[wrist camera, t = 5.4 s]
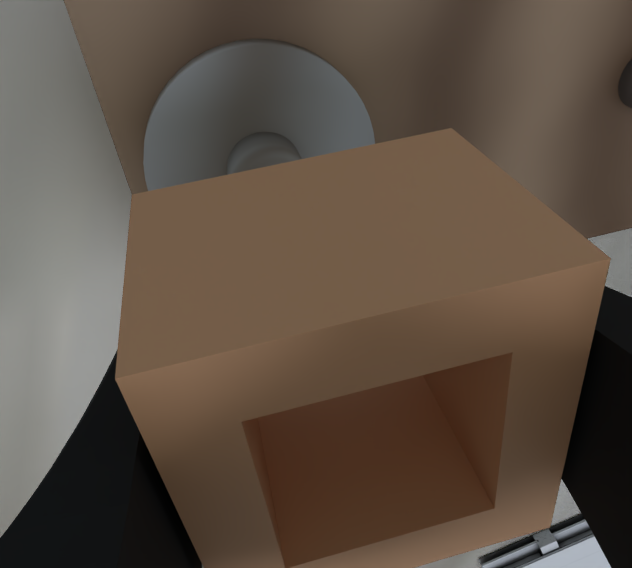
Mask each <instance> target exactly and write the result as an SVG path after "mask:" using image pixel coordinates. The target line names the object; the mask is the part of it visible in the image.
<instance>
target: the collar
mask: <svg viewBox="0 0 632 568" xmlns="http://www.w3.org/2000/svg"><path fill="white" fill-rule="evenodd" d="M610 260H611V258H610V257H608V256H607V255H606V254H605V253H604V252H602V251H601V250H600V249H599V248H597V247H596V246H595V245H594V244H593V243H591V242H590V241H589V240H588V239H586V238H585V237H584V236H583V235H582V234H580V233H579V232H578V231H577V230H575V229H574V228H573V227H572V226H571V225H569V224H568V223H567V222H566V221H564V220H563V219H562V218H561V217H560V216H558V215H557V214H556V213H555V212H553V211H552V210H551V209H550V208H549V207H547V206H546V205H545V204H544V203H543V202H541V201H540V200H539V199H538V198H536V197H535V196H534V195H533V194H532V193H530V192H529V191H528V190H527V189H525V188H524V187H523V186H522V185H521V184H519V183H518V182H517V181H516V180H514V179H513V178H512V177H511V176H510V175H508V174H507V173H506V172H505V171H503V170H502V169H501V168H500V167H499V166H497V165H496V164H495V163H494V162H492V161H491V160H490V159H489V158H488V157H486V156H485V155H484V154H483V153H482V152H480V151H479V150H478V149H477V148H475V147H474V146H473V145H472V144H471V143H469V142H468V141H467V140H466V139H464V138H463V137H462V136H461V135H460V134H458V133H457V132H456V131H455V130H453V129H452V128H449V129H444V130H439V131H435V132H430V133H425V134H420V135H415V136H411V137H406V138H401V139H396V140H391V141H387V142H382V143H377V144H372V145H367V146H363V147H358V148H353V149H348V150H343V151H339V152H334V153H329V154H324V155H319V156H315V157H310V158H305V159H300V160H295V161H291V162H286V163H281V164H276V165H271V166H267V167H262V168H257V169H252V170H247V171H243V172H238V173H233V174H228V175H223V176H219V177H214V178H209V179H204V180H199V181H195V182H190V183H185V184H180V185H175V186H171V187H166V188H161V189H156V190H151V191H147V192H142V193H137V194H132V200H131V210H130V221H129V232H128V243H127V254H126V265H125V275H124V286H123V297H122V308H121V319H120V330H119V340H118V351H117V362H116V373H115V380H116V382H117V384H118V386H119V388H120V391H121V393H122V395H123V397H124V399H125V401H126V403H127V405H128V408H129V410H130V412H131V414H132V416H133V418H134V420H135V422H136V425H137V427H138V429H139V431H140V433H141V435H142V437H143V439H144V442H145V444H146V446H147V448H148V450H149V452H150V454H151V456H152V459H153V461H154V463H155V465H156V467H157V469H158V471H159V473H160V476H161V478H162V480H163V482H164V484H165V486H166V488H167V490H168V493H169V495H170V497H171V499H172V501H173V503H174V505H175V507H176V510H177V512H178V514H179V516H180V518H181V520H182V522H183V524H184V527H185V529H186V531H187V533H188V535H189V537H190V539H191V541H192V544H193V546H194V548H195V550H196V552H197V554H198V556H199V558H200V561H201V563H202V565H203V567H204V568H414V567H418V566H421V565H424V564H428V563H431V562H435V561H438V560H441V559H445V558H448V557H452V556H455V555H458V554H462V553H465V552H469V551H472V550H475V549H479V548H482V547H485V546H489V545H492V544H496V543H499V542H502V541H506V540H509V539H513V538H516V537H519V536H523V535H526V534H529V533H533V532H536V531H540V530H543V529H546V528H550V526H551V522H552V517H553V513H554V508H555V504H556V500H557V495H558V491H559V486H560V482H561V477H562V473H563V468H564V464H565V460H566V455H567V451H568V446H569V442H570V437H571V433H572V428H573V424H574V420H575V415H576V411H577V406H578V402H579V397H580V393H581V388H582V384H583V380H584V375H585V371H586V366H587V362H588V357H589V353H590V349H591V344H592V340H593V335H594V331H595V326H596V322H597V317H598V313H599V309H600V304H601V300H602V295H603V291H604V286H605V282H606V277H607V273H608V269H609V264H610Z"/></svg>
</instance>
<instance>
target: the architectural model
mask: <svg viewBox="0 0 632 568" xmlns="http://www.w3.org/2000/svg"><path fill="white" fill-rule="evenodd" d="M479 561H480V563H481V565H482V568H611V566H610V564H609V563H608V561H607V559H606V557H605V555H604V553H603V551H602V549H601V548H600V546H599V544H598V542H597V540H596V538H595V536H594V534H593V533H592V531H591V529H590V527H589V525H588V524H587V522H586V520H585V518H584V517H583V515H582V514H581V515H578V516H576V517H574V518H572V519H569V520H567V521H565V522H562V523H560V524H558V525H556V526H553V527H551V528H549V529H546V530H544V531H541V532H539V533H537V534H534V535H532V536H530V537H528V538H526V539H524V540H521V541H519V542H517V543H514V544H512V545H510V546H508V547H505V548H503V549H501V550H498V551H496V552H494V553H492V554H489V555H487V556H485V557H482V558H480V559H479Z"/></svg>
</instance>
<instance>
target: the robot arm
mask: <svg viewBox="0 0 632 568" xmlns="http://www.w3.org/2000/svg"><path fill="white" fill-rule="evenodd" d="M117 351H118V350H117ZM116 362H117V352H116V354H115V356H114V358H113V360H112V362H111V364H110V366H109V368H108V370H107V372H106V374H105V376H104V378H103V380H102V382H101V384H100V385H99V387H98V389H97V391H96V393H95V395H94V396H93V398H92V400H91V402H90V404H89V406H88V407H87V409H86V411H85V413H84V415H83V416H82V418H81V420H80V422H79V423H78V425H77V427H76V428H75V430H74V432H73V433H72V435H71V436H70V438H69V440H68V441H67V443H66V445H65V446H64V448H63V449H62V451H61V453H60V454H59V456H58V458H57V459H56V461H55V462H54V464H53V466H52V467H51V469H50V470H49V472H48V473H47V475H46V476H45V478H44V479H43V480H42V482H41V483H40V485H39V486H38V488H37V489H36V491H35V492H34V494H33V495H32V496H31V498H30V499H29V501H28V502H27V503H26V505H25V506H24V507H23V509H22V510H21V511H20V513H19V514H18V516H17V517H16V518H15V520H14V521H13V522H12V524H11V525H10V526H9V528H8V529H7V530H6V531H5V533H4V534H3V535H2V536H1V538H0V568H202V563H201V561H200V558H199V556H198V554H197V552H196V550H195V548H194V546H193V544H192V541H191V539H190V537H189V535H188V533H187V531H186V529H185V527H184V524H183V522H182V520H181V518H180V516H179V514H178V512H177V510H176V507H175V505H174V503H173V501H172V499H171V497H170V495H169V493H168V490H167V488H166V486H165V484H164V482H163V480H162V478H161V476H160V473H159V471H158V469H157V467H156V465H155V463H154V461H153V459H152V456H151V454H150V452H149V450H148V448H147V446H146V444H145V442H144V439H143V437H142V435H141V433H140V431H139V429H138V427H137V425H136V422H135V420H134V418H133V416H132V414H131V412H130V410H129V408H128V405H127V403H126V401H125V399H124V397H123V395H122V393H121V391H120V388H119V386H118V384H117V382H116V380H115V373H116ZM561 479H562V480H563V482H564V483H565V485H566V487H567V488H568V490H569V492H570V494H571V495H572V497H573V499H574V501H575V502H576V504H577V506H578V508H579V510H580V511H581V513H582V515H583V517H584V518H585V520H586V522H587V524H588V525H589V527H590V529H591V531H592V533H593V534H594V536H595V538H596V540H597V542H598V544H599V546H600V548H601V549H602V551H603V553H604V555H605V557H606V559H607V561H608V563H609V564H610V566H611V568H632V297H629V296H627V295H625V294H622V293H620V292H618V291H615V290H613V289H610V288H608V287H606V286H604V291H603V295H602V300H601V304H600V309H599V313H598V317H597V322H596V326H595V331H594V335H593V340H592V344H591V349H590V353H589V357H588V362H587V366H586V371H585V375H584V380H583V384H582V388H581V393H580V397H579V402H578V406H577V411H576V415H575V420H574V424H573V428H572V433H571V437H570V442H569V446H568V451H567V455H566V460H565V464H564V468H563V473H562V477H561Z"/></svg>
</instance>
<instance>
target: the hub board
mask: <svg viewBox="0 0 632 568" xmlns="http://www.w3.org/2000/svg"><path fill="white" fill-rule="evenodd" d="M64 3H65V5H66V8H67V11H68V14H69V17H70V20H71V22H72V25H73V28H74V31H75V34H76V37H77V40H78V42H79V45H80V48H81V51H82V54H83V57H84V59H85V62H86V65H87V68H88V71H89V74H90V77H91V79H92V82H93V85H94V88H95V91H96V94H97V96H98V99H99V102H100V105H101V108H102V111H103V113H104V116H105V119H106V122H107V125H108V128H109V131H110V133H111V136H112V139H113V142H114V145H115V148H116V150H117V153H118V156H119V159H120V162H121V165H122V167H123V170H124V173H125V176H126V179H127V182H128V185H129V187H130V190H131V193H132V194H137V193H142V192H147V191H151V190H156V189H161V188H166V187H171V186H175V185H180V184H185V183H190V182H195V181H199V180H204V179H209V178H214V177H219V176H223V175H228V174H233V173H238V172H243V171H247V170H252V169H257V168H262V167H267V166H271V165H276V164H281V163H286V162H291V161H295V160H300V159H305V158H310V157H315V156H319V155H324V154H329V153H334V152H339V151H343V150H348V149H353V148H358V147H363V146H367V145H372V144H377V143H382V142H387V141H391V140H396V139H401V138H406V137H411V136H415V135H420V134H425V133H430V132H435V131H439V130H444V129H449V128H452V129H453V130H455V131H456V132H457V133H458V134H460V135H461V136H462V137H463V138H464V139H466V140H467V141H468V142H469V143H471V144H472V145H473V146H474V147H475V148H477V149H478V150H479V151H480V152H482V153H483V154H484V155H485V156H486V157H488V158H489V159H490V160H491V161H492V162H494V163H495V164H496V165H497V166H499V167H500V168H501V169H502V170H503V171H505V172H506V173H507V174H508V175H510V176H511V177H512V178H513V179H514V180H516V181H517V182H518V183H519V184H521V185H522V186H523V187H524V188H525V189H527V190H528V191H529V192H530V193H532V194H533V195H534V196H535V197H536V198H538V199H539V200H540V201H541V202H543V203H544V204H545V205H546V206H547V207H549V208H550V209H551V210H552V211H553V212H555V213H556V214H557V215H558V216H560V217H561V218H562V219H563V220H564V221H566V222H567V223H568V224H569V225H571V226H572V227H573V228H574V229H575V230H577V231H578V232H579V233H580V234H582V235H583V236H584V237H585V238H586V239H587V238H591V237H596V236H600V235H604V234H608V233H612V232H616V231H621V230H625V229H629V228H632V0H64Z"/></svg>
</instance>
